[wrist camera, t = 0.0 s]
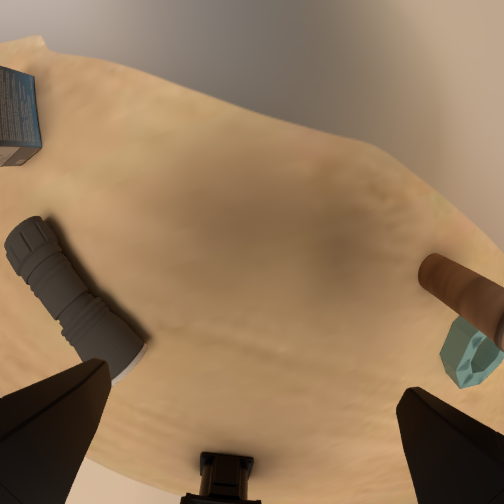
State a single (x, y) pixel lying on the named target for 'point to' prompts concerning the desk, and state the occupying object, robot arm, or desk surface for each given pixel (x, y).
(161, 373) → the desk surface
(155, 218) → the desk surface
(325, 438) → the desk surface
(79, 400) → the robot arm
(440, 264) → the banded wooden post
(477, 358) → the green faceted ring
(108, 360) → the flashlight
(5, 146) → the label tape cartridge
